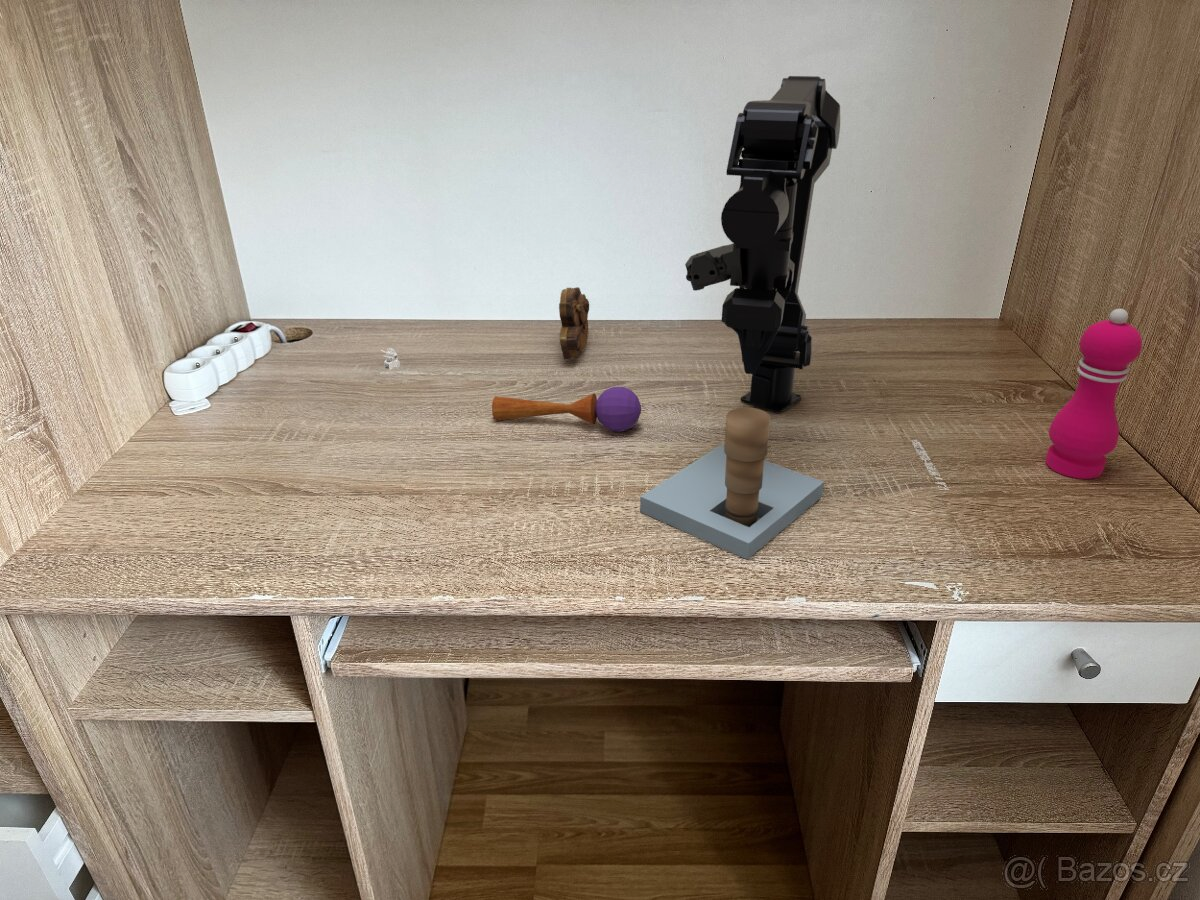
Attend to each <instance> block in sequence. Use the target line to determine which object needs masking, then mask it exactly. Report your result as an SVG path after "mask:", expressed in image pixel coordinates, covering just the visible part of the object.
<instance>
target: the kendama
mask: <svg viewBox="0 0 1200 900" xmlns="http://www.w3.org/2000/svg"><path fill="white" fill-rule="evenodd" d="M491 413H492V419H493V420H494V421H502V420H503V421H504V420H513V419H515V420H516V419H522V418H531V417H532V418H533V417H541V416H542V417H543V416H552V415H560V414H561V415H562V414H570V415H572V416H575V417H577V418H578V419H581V420H582V421H585V422H587V423H589V424H591V425H594V426H595V425H596V423H597V421H598V422H599V423H600V424H601V426H603V428H605V429H606V430H609V431H611V432H624V431H627V430H629V429H631V428H633V427H634V426H635V425H636V424H637V422H638V421H639V418H640V416H641V414H642V405H641V401H640V399H639V397H638V395H636V393H635V392H634V391H633V390H632V389H629V388H627V387H624V386H612V387H609V388H607V389H605V390H603V391H602V393H601V394H600V395H599V396H598V398H597V395H596V393H595V392H594V393H593V392H592V394H589V395H587V396H584V397H582V398H580V399H578V400H576V401H574V402H572V403H569V404H567V403H566V404H565V403H557V402H547V401H539V400H532V399H523V398H513V397H505V396H497V395H496V396H494V397H493V399H492V404H491Z"/></svg>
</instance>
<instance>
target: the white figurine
mask: <svg viewBox="0 0 1200 900" xmlns="http://www.w3.org/2000/svg"><path fill="white" fill-rule="evenodd" d="M380 351H381V353H385V355H383V358H385V360H384V361H383V368H384V369H386V367H388V370H389V371H391V370H392V369H394V368H400V367H401V361H400V360H399V359H398V358H399V356H398V353H397V352H396V351H395V349H394V348H388V347H386V351H385V350H383V349H380ZM388 365H389V366H388Z"/></svg>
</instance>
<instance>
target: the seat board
mask: <svg viewBox="0 0 1200 900" xmlns="http://www.w3.org/2000/svg"><path fill="white" fill-rule="evenodd" d="M724 447H725V445H723V444H719V445H718V446H716V448H714V449H712V450H710V451H709V452H707V453H706V454H704V455H703V456H701V457H699V458H698V459H697V460H695V461H694V462H692V463H691V464H689V465H687V466H685V467H683V469H681V470H679V471H678V472H676V473H674V474H673V475H671V476H670V477H668V478H667V479H665V480H663V481H662V482H661V483H659V484H658V485H656V486H654V487H653V488H651V489H650V490H648V491H647V492H645V493H644V494H642V495H641V496H640V501H639V502H640V503H639V504H640V505H639V512H640V513H642V514H645V515H647V516H649V517H651V518H653V519H655V520H658V521H660V522H662V523H664V524H666V525H668V526H670V527H674V528H675V529H678V530H680V531H683V532H685V533H687V534H690V535H691V536H693V537H696V538H698V539H701V540H702V541H705V542H706V543H709V544H711V545H714V546H716V547H718V548H721V549H723V550H725V551H727V552H730V553H732V554H734V555H735V556H738V557H741V558H743V559H746V560H748V559H750V558H751V557H753V555H754V554H756V553H757V552H758V551H759V550H761V549H762V548H763V547H764V546H765V545H767V544H768V543H769V542H770V541H771V540H773V539H774V538H775V537H776V536H777V535H779V534H780V533H781V532H782V531H783V530H784V529H785V528H787V527H788V526H790V524H791V523H792V522H793V521H795V520H796V519H797V518H799V517H800V516H801V515H802V514H804V513H805V512H806V511H807V510H808V509H809V508H811V506H813V505H814V504H815V503H816V502H817V501H819V500H820V499H821V498H823V494H824V493H823V492H824V485H825V481H823V480H820V479H818V478H815V477H811V475H806V474H804V473H801V472H798V471H795V470H793V469H789V468H787V467H783V466H781V465H779V464H775V463H773V462H770V461H767V460H765V459H764V468H763V480H762V488H761V489H760V490H759V500H758V506H759V509H758V513H757V522H756V523H754V524H753V525H752V526H751V527H747V526H745V525H742V524H740V523H737V522H735V521H733V520H730V519H728V518H725V513H726V510H725V504H726V496H727V487H726V486H725V472H726V454H725V452H724Z"/></svg>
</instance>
